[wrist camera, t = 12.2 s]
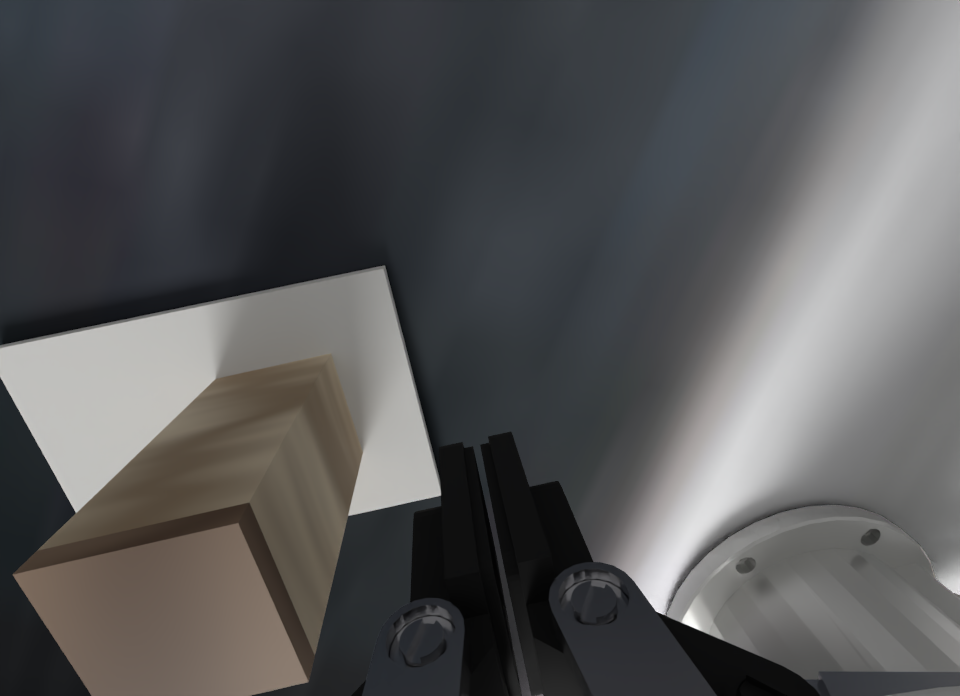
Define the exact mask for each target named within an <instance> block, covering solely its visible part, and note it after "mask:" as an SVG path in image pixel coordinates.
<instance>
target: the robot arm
mask: <svg viewBox="0 0 960 696" xmlns="http://www.w3.org/2000/svg"><path fill="white" fill-rule="evenodd" d="M488 439H489V443H486V444H482V445H480V446H481V451H482V456H483V461H484V466H485V472H486V477H487V482H488V487H489V492H490V497H491V502H492V508H493V513H494V518H495V523H496V528H497V533H498V538H499V543H500V549H501V554H502V559H503V564H504V569H505V573H506V578H507V583H508V588H509V592H510V597H511V602H512V606H513V611H514V616H515V620H516V625H517V630H518V635H519V639H520V644H521V649H522V653H523V658H524V663H525V667H526V672H527V677H528V681H529V686H530V691H531V695H532V696H535V695H539V694H543V695H544V696H960V595H958V594H955V593H952V592H951V591H950V590H949V589H948V588H946V587H945V586H944V585H943V584H941V583H940V582H939V581H938V580H936V577H935V574H934V571H933V568H932V565H931V562H930V559H929V558H928V556H927V555H926V553H925V552H924V550H923V549H922V547H921V546H920V544H919V543H917V542H916V541H915V540H914V539H913V538H911V537H910V536H909V535H908V534H907V533H905V532H904V531H903V530H902V529H900V528H899V527H898V526H897V525H895V524H893V523H892V522H890V521H889V520H887V519H886V518H884V517H882V516H881V515H879V514H876V513H873V512H870V511H867V510H864V509H861V508H858V507H850V506H842V505H819V506H807V507H802V508H798V509H793V510H789V511H785V512H780V513H778V514H775V515H773V516H770V517H767V518H765V519H762V520H760V521H757V522H755V523H753V524H751V525H749V526H747V527H746V528H744V529H742V530H740V531H739V532H737V533H735V534H733V535H731V536H730V537H729V538H727V539H726V540H725V541H723V542H722V543H721V544H719V545H718V546H717V547H716V548H714V549H713V550H712V551H710V552H709V553H708V554H707V555H706V556H705V557H704V558H703V559H702V560H701V561H700V562H699V563H698V564H697V566H696V567H695V568H694V569H693V570H692V571H691V572H690V573H689V575H688V576H687V578H686V579H685V581H684V582H683V584H682V585H681V587H680V588H679V589H678V591H677V592H676V595H675V597H674V599H673V601H672V604H671V606H670V608H669V610H668V613H667V616H665V615H662V614H660V613H658V612H656V611H655V610H654V608H653V607H652V606H651V604H650V603H649V602H648V600H647V599H646V597H645V596H644V595H643V593H642V592H641V591H640V589H639V588H638V586H637V585H636V584H635V582H634V581H633V580H632V579H631V578H630V577H629V576H628V575H627V574H626V573H625V572H624V571H622V570H620V569H618V568H616V567H615V566H612V565H608V564H605V563H601V562H593V560H592V558H591V555H590V553H589V550H588V548H587V546H586V543H585V541H584V539H583V536H582V534H581V532H580V529H579V527H578V525H577V522H576V520H575V518H574V515H573V513H572V511H571V508H570V506H569V503H568V501H567V499H566V496H565V494H564V492H563V489H562V487H561V485H560V483H559V482H558V481H555V482H550V483H546V484H541V485H536V486H532V487H529V485H528V482H527V479H526V475H525V472H524V469H523V466H522V463H521V460H520V457H519V454H518V451H517V448H516V445H515V441H514V438H513V435H512V432H507V433H503V434H498V435H493V436H489V437H488ZM439 461H440V484H441V506H440V507H435V508H431V509H426V510H422V511H417V512H415V513H414V521H413V547H412V573H411V599H410V603H409V604H407V605H405V606H403V607H401V608H400V609H399V610H397V611H396V612H395V613H394V614H392V615H391V616H390V617H389V619H388V620H387V621H386V623H385V624H384V625H383V626H382V629H381V631H380V633H379V636H378V638H377V641H376V645H375V649H374V652H373V656H372V660H371V664H370V667H369V671H368V675H367V679H366V681H365V682H364V683H363V684H362V685H361V686H360V687H359V688H358V689H357V690H356V691H355V692H354V693H353V694H352V696H522V694H521V689H520V683H519V677H518V672H517V666H516V661H515V655H514V650H513V644H512V639H511V633H510V628H509V622H508V617H507V611H506V606H505V600H504V595H503V589H502V583H501V578H500V572H499V567H498V561H497V556H496V551H495V546H494V541H493V536H492V532H491V527H490V523H489V518H488V513H487V509H486V504H485V500H484V495H483V490H482V486H481V481H480V477H479V472H478V467H477V463H476V458H475V454H474V449H473V446H472V447H468V448H464V446H463V442H461V443H456V444H451V445H447V446H442V447H439Z"/></svg>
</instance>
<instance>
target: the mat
mask: <svg viewBox="0 0 960 696" xmlns="http://www.w3.org/2000/svg"><path fill="white" fill-rule="evenodd" d="M330 353H331V355H332V358H333V361H334V364H335V368H336V371H337V374H338V377H339V380H340V383H341V386H342V389H343V392H344V395H345V399H346V402H347V405H348V408H349V411H350V414H351V417H352V420H353V423H354V426H355V430H356V433H357V436H358V439H359V442H360V445H361V448H362V451H363V455H362V459H361V463H360V467H359V472H358V476H357V480H356V484H355V488H354V493H353V497H352V501H351V505H350V509H349V514H348V516H350V515H354V514H359V513H363V512H368V511H373V510H377V509H382V508H386V507H391V506H395V505H400V504H404V503H409V502H413V501H418V500H423V499H427V498H432V497H436V496H441V484H440V478H439V474H438V470H437V466H436V462H435V458H434V455H433V451H432V447H431V443H430V439H429V435H428V431H427V427H426V423H425V419H424V416H423V412H422V408H421V404H420V400H419V396H418V392H417V388H416V384H415V380H414V377H413V373H412V369H411V365H410V361H409V357H408V353H407V349H406V345H405V341H404V338H403V334H402V330H401V326H400V322H399V318H398V314H397V310H396V306H395V302H394V299H393V295H392V291H391V287H390V283H389V279H388V275H387V271H386V267H385V265H384V266H379V267H374V268H369V269H364V270H360V271H355V272H350V273H345V274H340V275H336V276H331V277H326V278H321V279H316V280H312V281H307V282H302V283H297V284H292V285H287V286H283V287H278V288H273V289H268V290H263V291H259V292H254V293H249V294H244V295H239V296H235V297H230V298H225V299H220V300H215V301H211V302H206V303H201V304H196V305H191V306H186V307H182V308H177V309H172V310H167V311H162V312H158V313H153V314H148V315H143V316H138V317H134V318H129V319H124V320H119V321H114V322H109V323H105V324H100V325H95V326H90V327H85V328H81V329H76V330H71V331H66V332H61V333H57V334H52V335H47V336H42V337H37V338H33V339H28V340H23V341H18V342H13V343H8V344H4V345H0V377H1V379H2V381H3V383H4V384H5V386H6V388H7V390H8V392H9V393H10V395H11V397H12V399H13V401H14V402H15V404H16V406H17V408H18V409H19V411H20V413H21V415H22V417H23V418H24V420H25V422H26V424H27V426H28V427H29V429H30V431H31V433H32V435H33V436H34V438H35V440H36V442H37V444H38V445H39V447H40V449H41V451H42V453H43V454H44V456H45V458H46V460H47V462H48V463H49V465H50V467H51V469H52V470H53V472H54V474H55V476H56V478H57V479H58V481H59V483H60V485H61V487H62V488H63V490H64V492H65V494H66V496H67V497H68V499H69V501H70V503H71V505H72V506H73V508H74V510H75V512H76V513H77V512H78V511H79V510H80V509H81V508H82V507H83V506H84V505H85V504H86V503H87V502H88V501H89V500H90V499H92V498H93V497H94V496H95V495H96V494H97V493H98V492H99V491H100V490H101V489H102V488H103V487H104V486H105V485H106V484H107V483H108V482H109V481H110V480H111V479H112V478H113V477H114V476H115V475H116V474H117V473H118V472H120V471H121V470H122V469H123V468H124V467H125V466H126V465H127V464H128V463H129V462H130V461H131V460H132V459H133V458H134V457H135V456H136V455H137V454H138V453H139V452H140V451H141V450H142V449H143V448H144V447H145V446H147V445H148V444H149V443H150V442H151V441H152V440H153V439H154V438H155V437H156V436H157V435H158V434H159V433H160V432H161V431H162V430H163V429H164V428H165V427H166V426H167V425H168V424H169V423H170V422H171V421H172V420H173V419H175V418H176V417H177V416H178V415H179V414H180V413H181V412H182V411H183V410H184V409H185V408H186V407H187V406H188V405H189V404H190V403H191V402H192V401H193V400H194V399H195V398H196V397H197V396H198V395H199V394H200V393H202V392H203V391H204V390H205V389H206V388H207V387H208V386H209V385H210V384H211V383H212V382H213V381H214V380H215V379H217V378H222V377H226V376H231V375H235V374H240V373H244V372H249V371H253V370H258V369H262V368H267V367H271V366H276V365H280V364H285V363H289V362H294V361H298V360H303V359H307V358H312V357H316V356H321V355H325V354H330Z"/></svg>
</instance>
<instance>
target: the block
mask: <svg viewBox="0 0 960 696" xmlns="http://www.w3.org/2000/svg"><path fill="white" fill-rule="evenodd" d="M362 455H363V451H362V448H361V445H360V442H359V439H358V436H357V433H356V430H355V426H354V423H353V420H352V417H351V414H350V411H349V408H348V405H347V402H346V399H345V395H344V392H343V389H342V386H341V383H340V380H339V377H338V374H337V371H336V368H335V364H334V361H333V358H332V355H331V353H330V354H325V355H321V356H316V357H312V358H307V359H303V360H298V361H294V362H289V363H285V364H280V365H276V366H271V367H267V368H262V369H258V370H253V371H249V372H244V373H240V374H235V375H231V376H226V377H222V378H217V379H215V380H214V381H213V382H212V383H211V384H210V385H209V386H208V387H207V388H206V389H205V390H204V391H203V392H202V393H200V394H199V395H198V396H197V397H196V398H195V399H194V400H193V401H192V402H191V403H190V404H189V405H188V406H187V407H186V408H185V409H184V410H183V411H182V412H181V413H180V414H179V415H178V416H177V417H176V418H175V419H173V420H172V421H171V422H170V423H169V424H168V425H167V426H166V427H165V428H164V429H163V430H162V431H161V432H160V433H159V434H158V435H157V436H156V437H155V438H154V439H153V440H152V441H151V442H150V443H149V444H148V445H147V446H145V447H144V448H143V449H142V450H141V451H140V452H139V453H138V454H137V455H136V456H135V457H134V458H133V459H132V460H131V461H130V462H129V463H128V464H127V465H126V466H125V467H124V468H123V469H122V470H121V471H120V472H118V473H117V474H116V475H115V476H114V477H113V478H112V479H111V480H110V481H109V482H108V483H107V484H106V485H105V486H104V487H103V488H102V489H101V490H100V491H99V492H98V493H97V494H96V495H95V496H94V497H93V498H92V499H90V500H89V501H88V502H87V503H86V504H85V505H84V506H83V507H82V508H81V509H80V510H79V511H78V512H77V513H76V514H75V515H74V516H73V517H72V518H71V519H70V520H69V521H68V522H67V523H66V524H65V525H63V526H62V527H61V528H60V529H59V530H58V531H57V532H56V533H55V534H54V535H53V536H52V537H51V538H50V539H49V540H48V541H47V542H46V543H45V544H44V545H43V546H42V547H41V548H40V549H39V550H38V551H37V552H35V553H34V554H33V555H32V556H31V557H30V558H29V559H28V560H27V561H26V562H25V563H24V564H23V565H22V566H21V567H20V568H19V569H18V570H17V571H16V572H15V573H14V574H13V576H14V578H15V579H16V581H17V582H18V584H19V585H20V587H21V588H22V590H23V591H24V593H25V594H26V596H27V597H28V599H29V600H30V602H31V604H32V605H33V607H34V608H35V610H36V611H37V613H38V614H39V616H40V617H41V619H42V620H43V622H44V623H45V625H46V626H47V628H48V629H49V631H50V633H51V634H52V636H53V637H54V639H55V640H56V642H57V643H58V645H59V646H60V648H61V649H62V651H63V652H64V654H65V655H66V657H67V658H68V660H69V662H70V663H71V665H72V666H73V668H74V669H75V671H76V672H77V674H78V675H79V677H80V678H81V680H82V681H83V683H84V684H85V686H86V687H87V689H88V690H89V692H90V694H91V695H92V696H251V695H255V694H259V693H263V692H268V691H272V690H276V689H280V688H285V687H289V686H293V685H297V684H302V683H306V682H309V678H310V673H311V669H312V665H313V661H314V657H315V652H316V648H317V644H318V640H319V636H320V631H321V627H322V623H323V619H324V615H325V610H326V606H327V602H328V598H329V594H330V589H331V585H332V581H333V577H334V573H335V568H336V564H337V560H338V556H339V551H340V547H341V543H342V539H343V535H344V530H345V526H346V522H347V518H348V514H349V509H350V505H351V501H352V497H353V493H354V488H355V484H356V480H357V476H358V472H359V467H360V463H361V459H362Z"/></svg>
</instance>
